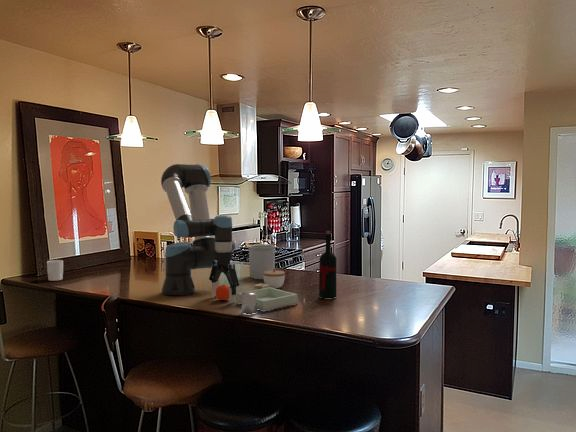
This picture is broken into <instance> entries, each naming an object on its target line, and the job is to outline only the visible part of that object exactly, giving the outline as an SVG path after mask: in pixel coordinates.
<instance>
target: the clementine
mask: <svg viewBox="0 0 576 432" xmlns="http://www.w3.org/2000/svg"><path fill="white" fill-rule="evenodd" d="M229 287H230V285H227V284H220V285H218V288H217V289H216V297H215V298H217V300H219V301H221V300H225V301H229Z"/></svg>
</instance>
